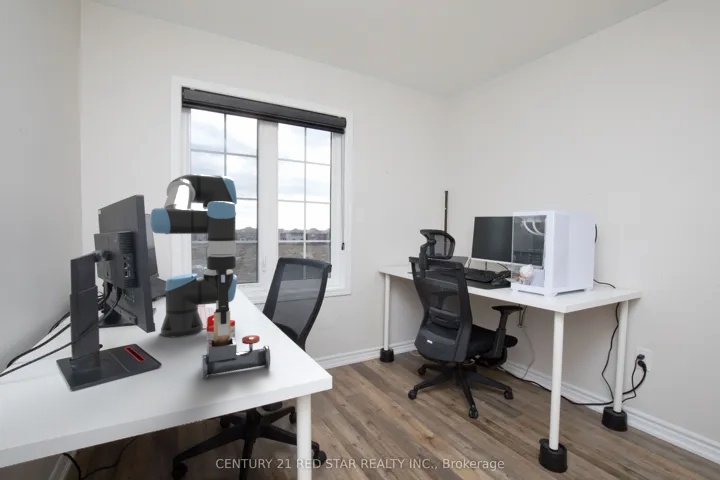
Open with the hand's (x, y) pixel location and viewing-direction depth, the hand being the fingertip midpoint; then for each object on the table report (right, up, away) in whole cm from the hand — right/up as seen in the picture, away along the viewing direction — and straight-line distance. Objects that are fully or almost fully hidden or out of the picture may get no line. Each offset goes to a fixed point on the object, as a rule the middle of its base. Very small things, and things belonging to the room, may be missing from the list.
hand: (222, 327), depth 94 cm
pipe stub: (0, -7, 0) cm, 7 cm away
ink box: (-5, -14, +12) cm, 19 cm away
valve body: (+4, -14, +2) cm, 14 cm away
